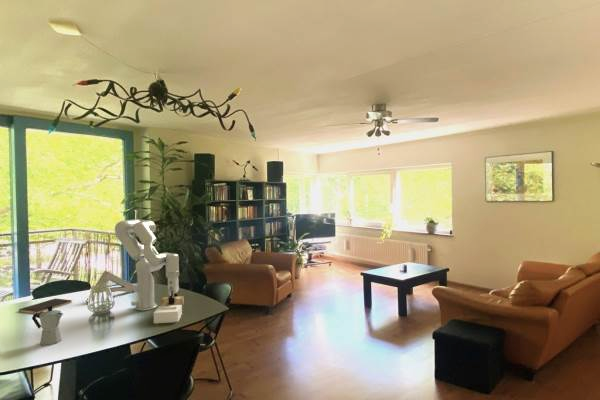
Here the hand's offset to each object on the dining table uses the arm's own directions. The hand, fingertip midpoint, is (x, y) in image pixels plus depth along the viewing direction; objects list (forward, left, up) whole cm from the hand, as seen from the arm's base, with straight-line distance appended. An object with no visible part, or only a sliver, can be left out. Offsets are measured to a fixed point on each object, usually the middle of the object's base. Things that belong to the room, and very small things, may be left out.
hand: (173, 301), depth 215 cm
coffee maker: (-52, -36, -6) cm, 63 cm away
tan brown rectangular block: (0, 0, -6) cm, 6 cm away
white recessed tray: (0, -13, -6) cm, 14 cm away
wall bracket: (-48, +42, -7) cm, 64 cm away
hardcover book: (-84, +24, -7) cm, 87 cm away
